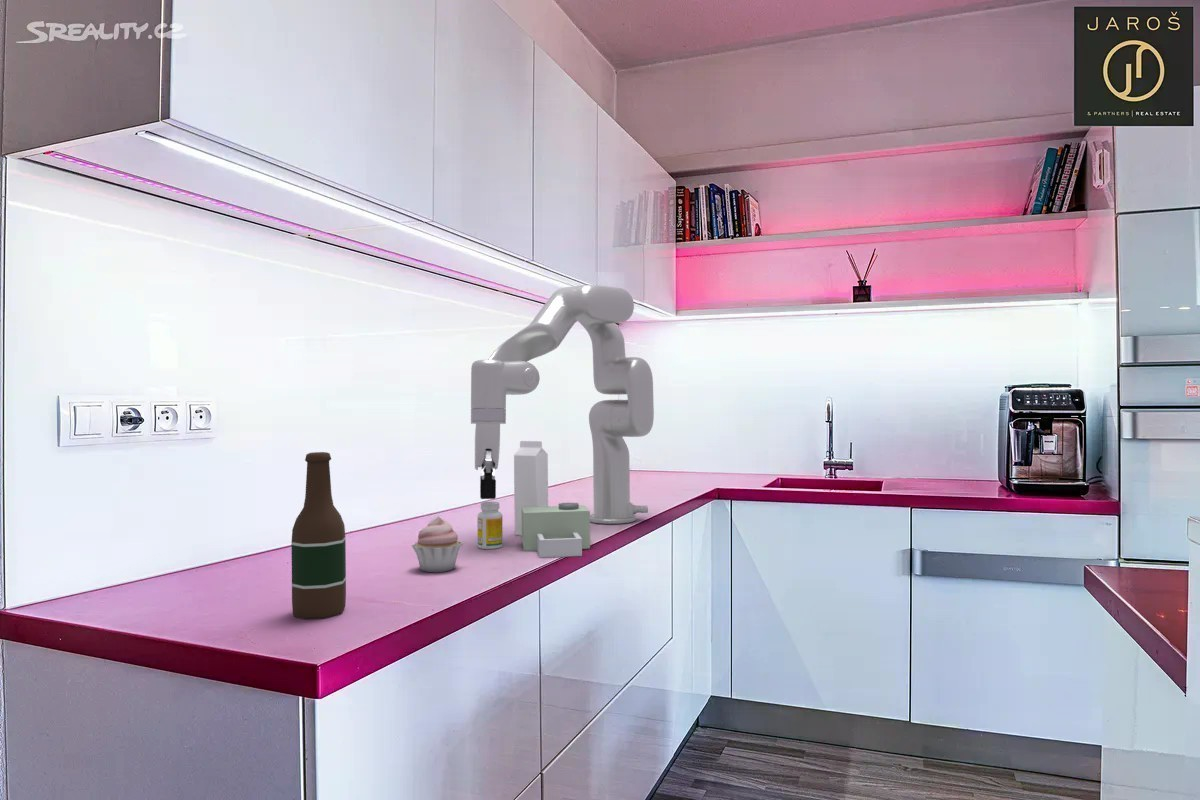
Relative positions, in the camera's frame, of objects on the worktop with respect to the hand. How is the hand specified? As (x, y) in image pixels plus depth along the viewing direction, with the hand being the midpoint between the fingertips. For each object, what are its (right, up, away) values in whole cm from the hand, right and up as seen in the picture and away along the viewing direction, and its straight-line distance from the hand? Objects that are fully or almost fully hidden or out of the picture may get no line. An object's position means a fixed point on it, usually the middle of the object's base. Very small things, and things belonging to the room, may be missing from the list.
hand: (487, 496), depth 164 cm
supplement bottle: (+1, -11, 0) cm, 11 cm away
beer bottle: (-18, -11, -50) cm, 54 cm away
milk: (+8, -11, +17) cm, 22 cm away
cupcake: (-6, -11, -21) cm, 25 cm away
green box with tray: (+15, -11, -3) cm, 19 cm away
